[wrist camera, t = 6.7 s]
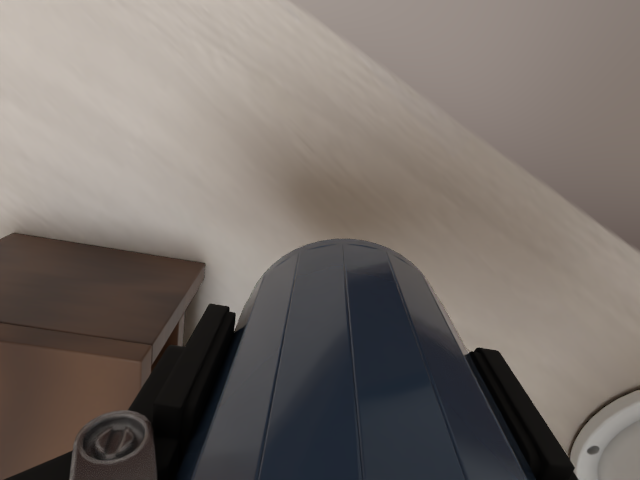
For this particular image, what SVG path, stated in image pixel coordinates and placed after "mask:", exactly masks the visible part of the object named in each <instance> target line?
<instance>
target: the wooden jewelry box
mask: <svg viewBox="0 0 640 480" xmlns="http://www.w3.org/2000/svg"><path fill="white" fill-rule="evenodd" d="M204 274H205V264H204V263H198V262H192V261H186V260H179V259H173V258H167V257H160V256H154V255H148V254H142V253H135V252H129V251H123V250H116V249H110V248H104V247H98V246H91V245H85V244H79V243H73V242H66V241H60V240H54V239H47V238H41V237H35V236H29V235H22V234H16V233H12V234H10V235H8V236H6V237H4V238H2V239H0V480H4V479H6V478H9V477H11V476H14V475H16V474H18V473H21V472H23V471H25V470H28V469H30V468H32V467H35V466H37V465H40V464H42V463H44V462H47V461H49V460H51V459H54V458H56V457H58V456H61V455H63V454H66V453H68V452H70V451H73V444H74V441H75V438H76V435H77V434H78V433H79V431H80V430H81V429H82V427H83V426H84V425H86V424H87V423H88V422H90V421H91V420H92V419H94V418H96V417H98V416H100V415H102V414H105V413H109V412H113V411H122V410H128V409H129V407H130V406H131V404H132V403H133V401H134V399H135V398H136V396H137V395H138V393H139V391H140V390H141V388H142V387H143V385H144V384H145V382H146V380H147V379H148V377H149V376H150V374H151V372H152V371H153V369H154V368H155V366H156V365H157V363H158V361H159V360H160V358H161V357H162V355H163V353H164V352H165V350H166V349H167V348H168V346H169V345H177V346H183V332H184V317H185V312H184V311H185V310H186V308H187V307H188V305H189V303H190V302H191V300H192V298H193V297H194V295H195V293H196V292H197V290H198V288H199V287H200V285H201V283H202V282H203V280H204Z"/></svg>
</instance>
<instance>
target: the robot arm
mask: <svg viewBox="0 0 640 480" xmlns="http://www.w3.org/2000/svg"><path fill="white" fill-rule="evenodd" d="M235 316H236V314H235V313H233V312H229V307H228V306H222V305H215V304H209V305H208V307H207V309H206V311H205V312H204V314H203V316H202V318H201V319H200V321H199V323H198V325H197V327H196V328H195V330H194V332H193V334H192V335H191V337H190V339H189V341H188V343H187V344H186V346H185V347H183V346H177V345H169V346H168V348H167V349H166V350H165V352H164V353H163V355H162V357H161V358H160V360H159V361H158V363H157V365H156V366H155V368H154V369H153V371H152V372H151V374H150V376H149V377H148V379H147V380H146V382H145V384H144V385H143V387H142V388H141V390H140V391H139V393H138V395H137V396H136V398H135V399H134V401H133V403H132V404H131V406H130V407H129V409H128V410H122V411H113V412H109V413H105V414H102V415H100V416H98V417H96V418H94V419H92V420H91V421H90V422H88V423H87V424H86V425H84V426H83V427H82V429H81V430H80V431H79V433H78V434H77V435H76V438H75V441H74V444H73V451H70V452H68V453H66V454H63V455H61V456H58V457H56V458H54V459H51V460H49V461H47V462H44V463H42V464H40V465H37V466H35V467H32V468H30V469H28V470H25V471H23V472H21V473H18V474H16V475H14V476H11V477H9V478H6V479H4V480H175V478H176V476H177V473H178V471H179V468H180V466H181V463H182V461H183V458H184V456H185V453H186V451H187V448H188V446H189V443H190V441H191V439H192V436H193V434H194V431H195V429H196V426H197V424H198V421H199V419H200V416H201V414H202V411H203V409H204V406H205V403H206V401H207V398H208V396H209V393H210V391H211V388H212V386H213V383H214V381H215V378H216V376H217V373H218V371H219V368H220V366H221V363H222V361H223V358H224V356H225V353H226V351H227V348H228V345H229V343H230V340H231V338H232V335H233V333H234V325H235ZM469 355H470V356H471V358H472V360H473V362H474V364H475V366H476V368H477V370H478V371H479V373H480V375H481V377H482V379H483V381H484V383H485V385H486V386H487V388H488V390H489V392H490V394H491V396H492V398H493V400H494V401H495V403H496V405H497V407H498V409H499V411H500V413H501V415H502V416H503V418H504V420H505V422H506V424H507V426H508V428H509V430H510V431H511V433H512V435H513V437H514V439H515V441H516V443H517V445H518V446H519V448H520V450H521V452H522V454H523V456H524V458H525V459H526V461H527V463H528V465H529V467H530V469H531V471H532V473H533V474H534V476H535V478H536V480H640V390H637V391H634V392H632V393H629V394H627V395H625V396H623V397H621V398H618V399H617V400H615V401H613V402H612V403H610V404H609V405H607V406H605V407H604V408H603V409H601V410H600V411H599V412H598V413H597V414H596V415H594V416H593V417H592V418H591V419H590V420H589V421H588V423H587V424H586V425H585V426H584V427H583V428H582V430H581V431H580V433H579V435H578V436H577V438H576V440H575V442H574V445H573V448H572V451H571V454H570V459H569V458H568V456H567V455H566V453H565V452H564V450H563V449H562V447H561V445H560V444H559V442H558V441H557V439H556V438H555V436H554V435H553V433H552V432H551V430H550V429H549V427H548V426H547V424H546V423H545V421H544V419H543V418H542V416H541V415H540V413H539V412H538V410H537V409H536V407H535V406H534V404H533V403H532V401H531V400H530V398H529V397H528V395H527V393H526V392H525V390H524V389H523V387H522V386H521V384H520V383H519V381H518V380H517V378H516V377H515V375H514V374H513V372H512V371H511V369H510V367H509V366H508V364H507V363H506V361H505V360H504V358H503V357H502V355H501V354H500V353H499V351H496V350H490V349H484V348H476V349H475V351H474V352H472V351H471V352H469Z"/></svg>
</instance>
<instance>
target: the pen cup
mask: <svg viewBox="0 0 640 480" xmlns="http://www.w3.org/2000/svg"><path fill="white" fill-rule="evenodd" d="M175 480H536V478H535V476H534V474H533V473H532V471H531V469H530V467H529V465H528V463H527V461H526V459H525V458H524V456H523V454H522V452H521V450H520V448H519V446H518V445H517V443H516V441H515V439H514V437H513V435H512V433H511V431H510V430H509V428H508V426H507V424H506V422H505V420H504V418H503V416H502V415H501V413H500V411H499V409H498V407H497V405H496V403H495V401H494V400H493V398H492V396H491V394H490V392H489V390H488V388H487V386H486V385H485V383H484V381H483V379H482V377H481V375H480V373H479V371H478V370H477V368H476V366H475V364H474V362H473V360H472V358H471V356H470V355H469V353H468V351H467V349H466V347H465V345H464V343H463V342H462V340H461V338H460V336H459V334H458V332H457V330H456V328H455V327H454V325H453V323H452V321H451V319H450V317H449V315H448V313H447V312H446V310H445V308H444V306H443V304H442V302H441V301H440V299H439V298H438V296H437V295H436V294H435V292H434V290H433V288H432V287H431V285H430V283H429V281H428V280H427V279H426V277H425V276H424V275H423V274H422V272H421V271H420V270H419V269H418V268H417V267H416V266H415V265H414V264H413V263H412V262H410V261H409V260H408V259H406V258H405V257H403V256H402V255H401V254H399V253H397V252H395V251H393V250H391V249H389V248H387V247H384V246H382V245H379V244H376V243H372V242H368V241H364V240H356V239H331V240H323V241H319V242H315V243H311V244H307V245H305V246H303V247H300V248H298V249H295V250H293V251H292V252H290V253H288V254H286V255H285V256H283V257H282V258H280V259H279V260H278V261H276V262H275V263H274V264H273V265H272V266H271V267H270V268H269V269H268V270H267V271H266V272H265V273H264V274H263V275H262V277H261V278H260V279H259V281H258V282H257V283H256V285H255V287H254V289H253V291H252V293H251V295H250V297H249V299H248V301H247V302H246V304H245V305H244V308H243V310H242V313H241V315H240V318H239V320H238V323H237V325H236V328H235V330H234V333H233V335H232V338H231V340H230V343H229V345H228V348H227V351H226V353H225V356H224V358H223V361H222V363H221V366H220V368H219V371H218V373H217V376H216V378H215V381H214V383H213V386H212V388H211V391H210V393H209V396H208V398H207V401H206V403H205V406H204V409H203V411H202V414H201V416H200V419H199V421H198V424H197V426H196V429H195V431H194V434H193V436H192V439H191V441H190V443H189V446H188V448H187V451H186V453H185V456H184V458H183V461H182V463H181V466H180V468H179V471H178V473H177V476H176V478H175Z"/></svg>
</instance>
